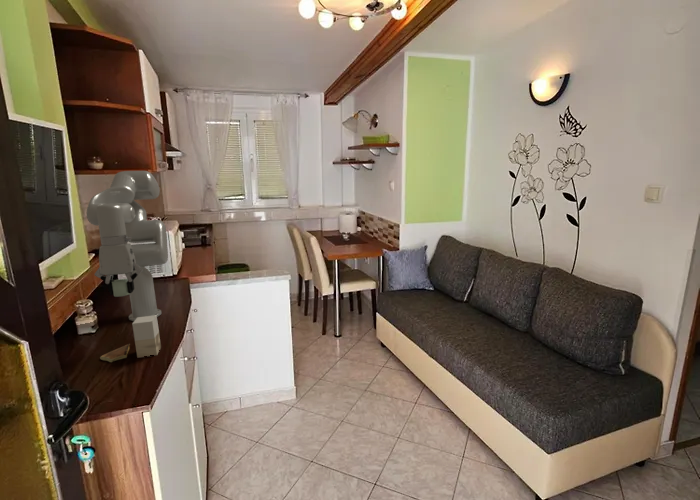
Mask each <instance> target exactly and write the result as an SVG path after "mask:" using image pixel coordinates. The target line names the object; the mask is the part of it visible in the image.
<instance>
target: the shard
mask: <svg viewBox="0 0 700 500" xmlns="http://www.w3.org/2000/svg"><path fill="white" fill-rule="evenodd" d="M130 345H131V343H130V342H129V343H127V344H125V345H123V346H121V347H118V348H116V349H114V350H111V351H109V352H107V353H105V354H103V355H100V357H99V358H100V360H102V361H106V362H109V363H113V362H115V361H119V360H123V359H127V357H128V353H129V351H130Z"/></svg>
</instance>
